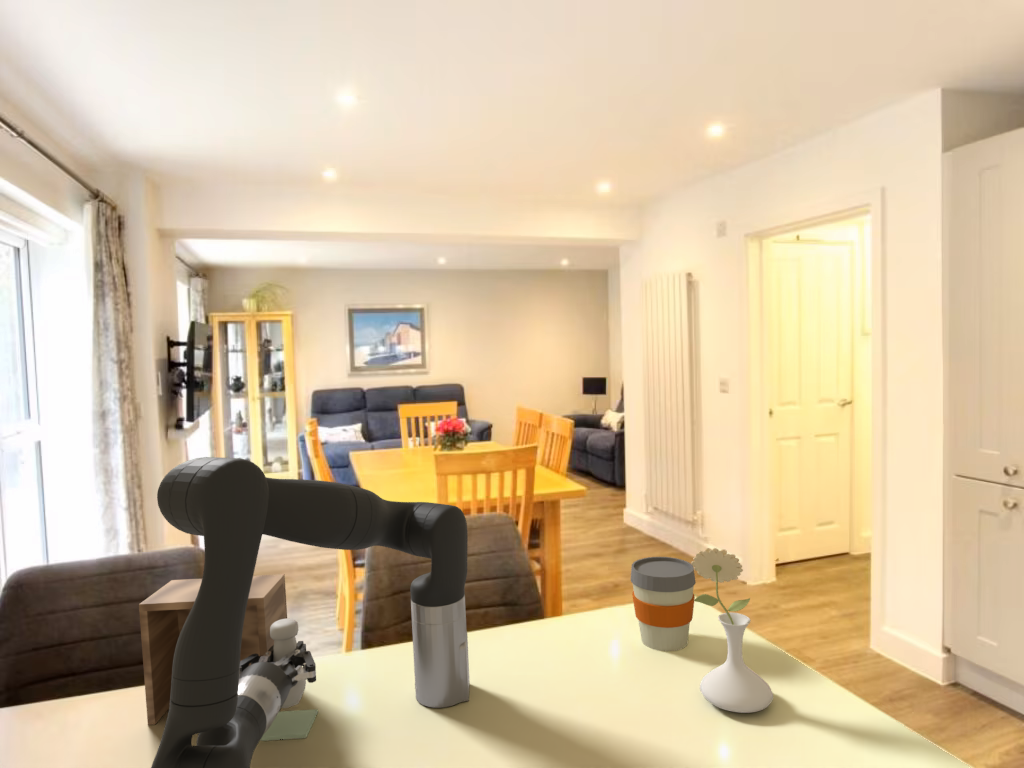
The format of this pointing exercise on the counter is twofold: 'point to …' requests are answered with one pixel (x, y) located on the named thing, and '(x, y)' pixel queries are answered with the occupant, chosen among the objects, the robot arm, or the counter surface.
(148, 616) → the cubby
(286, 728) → the mat
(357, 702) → the counter surface
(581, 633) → the counter surface
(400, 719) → the counter surface
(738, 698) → the flower in vase
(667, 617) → the reusable coffee cup
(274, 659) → the salt shaker
